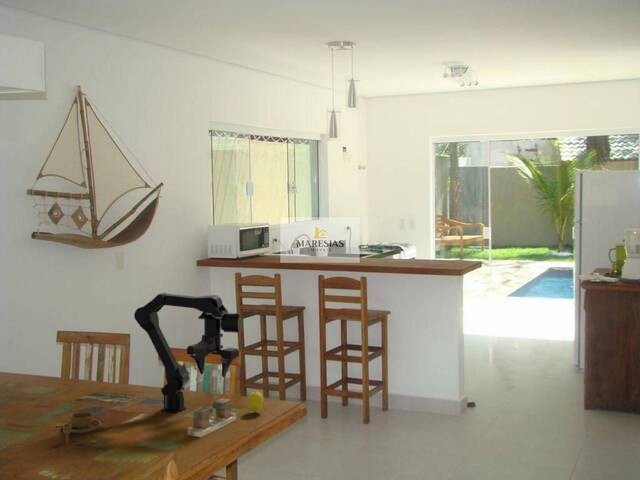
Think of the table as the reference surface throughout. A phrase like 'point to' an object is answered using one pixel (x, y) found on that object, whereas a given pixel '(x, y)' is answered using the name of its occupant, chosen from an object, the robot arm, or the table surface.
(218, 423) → the rail
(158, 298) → the robot arm
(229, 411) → the gray and beige block
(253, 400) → the lemon
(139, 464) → the table surface
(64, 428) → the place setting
